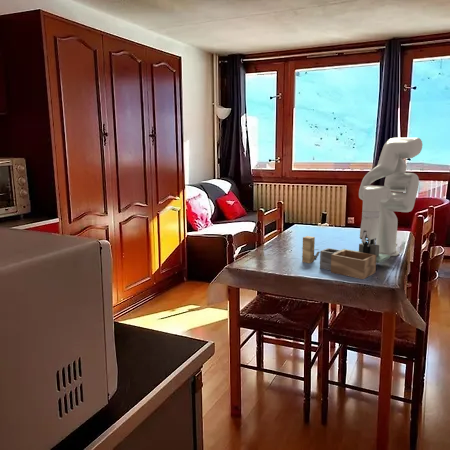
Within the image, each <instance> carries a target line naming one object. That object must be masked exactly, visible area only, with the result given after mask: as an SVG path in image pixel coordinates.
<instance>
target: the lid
mask: <svg viewBox="0 0 450 450" xmlns="http://www.w3.org/2000/svg"><path fill="white" fill-rule="evenodd" d="M379 246H380V245H376V243H375V244H370V246H369V247H370V254H374V255H376V264H380V263H382V262H385V261H387V260H389V259H390V258H391V256H390V255H385V254H379ZM341 250H349V249H346V248H342V249H341ZM350 250H351V251H354V250H353V249H350ZM355 251H356V252H362V253H363V243H362V242H361V243H359V244H358V250H355Z"/></svg>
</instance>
